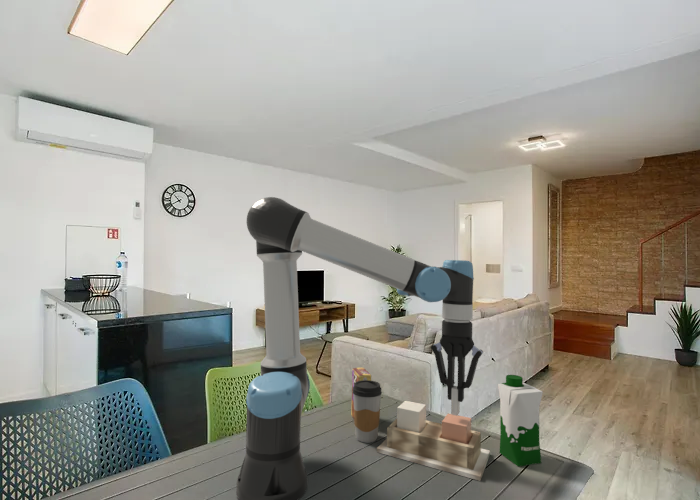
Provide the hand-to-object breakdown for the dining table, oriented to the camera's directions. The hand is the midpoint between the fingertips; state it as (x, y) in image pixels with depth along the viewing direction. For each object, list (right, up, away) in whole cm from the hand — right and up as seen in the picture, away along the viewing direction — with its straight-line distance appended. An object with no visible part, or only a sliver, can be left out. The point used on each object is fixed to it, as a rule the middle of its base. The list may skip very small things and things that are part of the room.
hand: (455, 413), depth 96 cm
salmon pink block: (0, -9, 0) cm, 9 cm away
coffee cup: (-22, -12, +11) cm, 27 cm away
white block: (-10, -8, +6) cm, 14 cm away
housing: (-5, -12, +3) cm, 13 cm away
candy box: (-23, -12, +23) cm, 35 cm away
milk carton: (+17, -12, +1) cm, 21 cm away
